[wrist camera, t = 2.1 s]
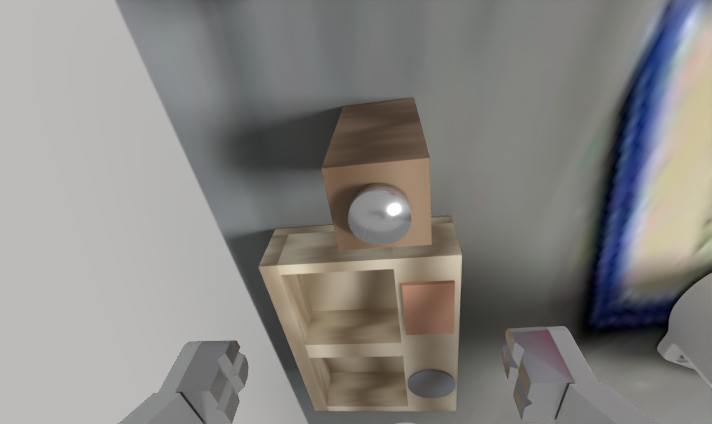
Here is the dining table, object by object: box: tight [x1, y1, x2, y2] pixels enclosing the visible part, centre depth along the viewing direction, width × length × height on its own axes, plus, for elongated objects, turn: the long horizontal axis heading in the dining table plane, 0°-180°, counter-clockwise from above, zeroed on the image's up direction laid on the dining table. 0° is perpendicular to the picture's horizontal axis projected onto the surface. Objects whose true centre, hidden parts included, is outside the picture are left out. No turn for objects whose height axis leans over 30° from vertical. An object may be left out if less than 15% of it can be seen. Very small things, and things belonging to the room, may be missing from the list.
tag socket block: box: [258, 216, 462, 411], centre depth 33 cm, size 16×22×5 cm
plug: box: [321, 98, 432, 251], centre depth 21 cm, size 5×5×11 cm
